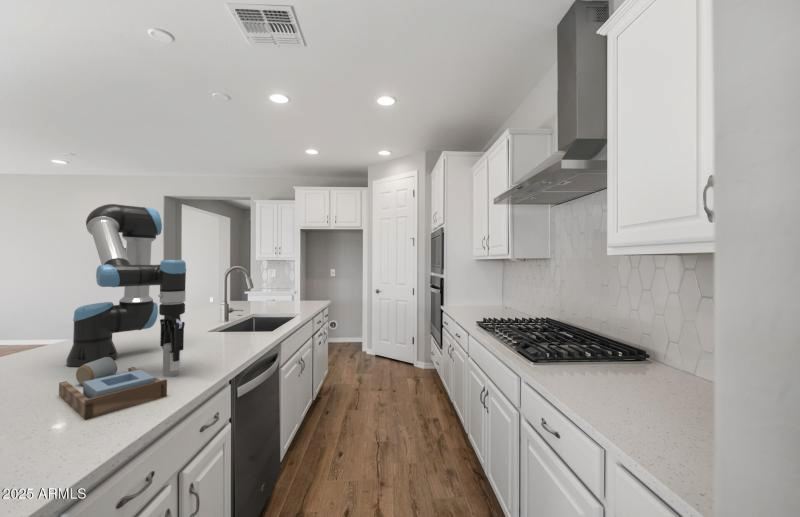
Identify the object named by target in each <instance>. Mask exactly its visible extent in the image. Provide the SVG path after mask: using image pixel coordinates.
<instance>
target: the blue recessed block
mask: <svg viewBox="0 0 800 517" xmlns="http://www.w3.org/2000/svg"><path fill="white" fill-rule="evenodd" d="M155 378H156V376H153V375H152V374H149V373H147V372H146V371H144V370H141V369H139V370H135V371H130V372H128V371H125V372H122V373H116V375H112V376H107V377H103V378H98V379H94V380H89V381H84V382H83V385H82V394H83V395H84V396H86V397H87V398H88V399H90V398H94V397H98V396H102V395H106V394H110V393H114V392H117V391H121V390H125V389H129V388H133V387H137V386H141V385H145V384H149V383H153V382H155Z"/></svg>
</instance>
